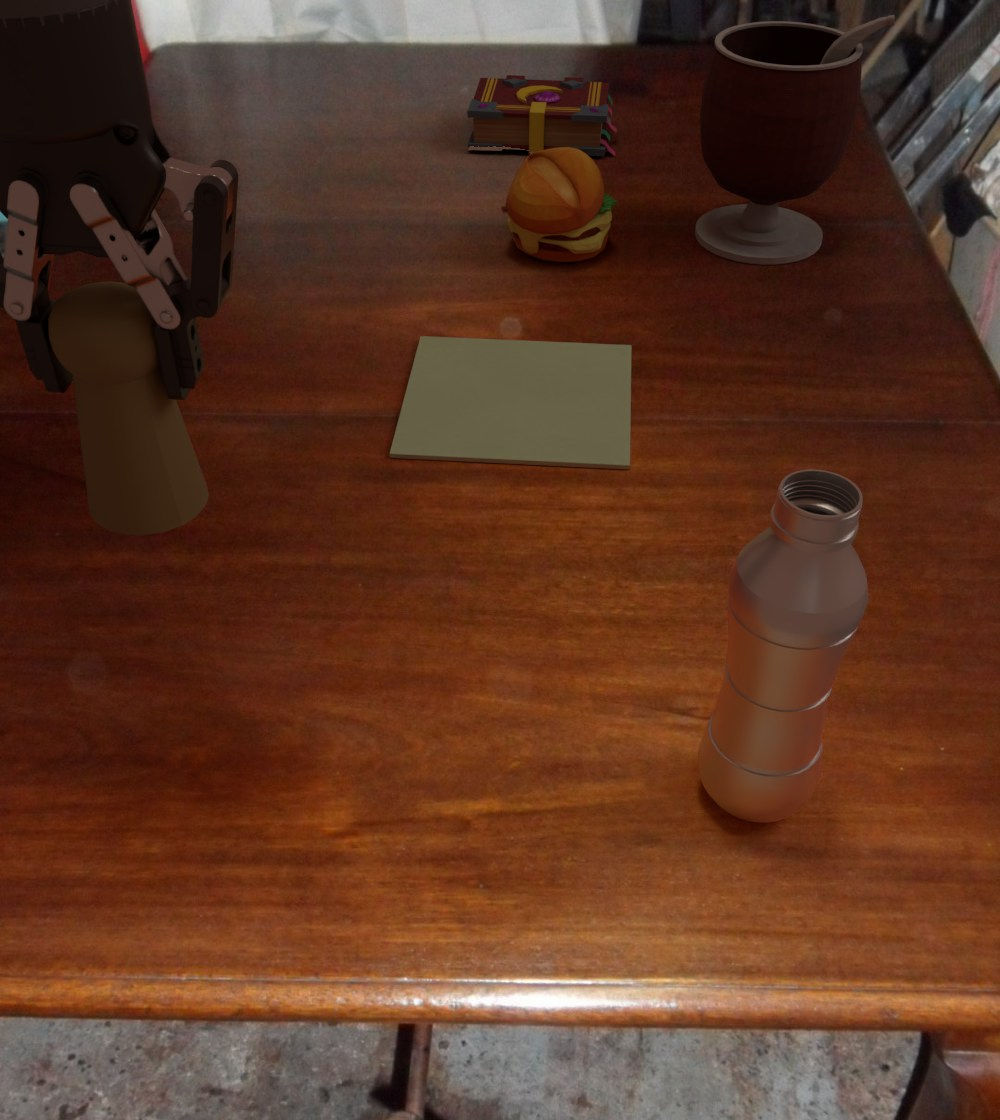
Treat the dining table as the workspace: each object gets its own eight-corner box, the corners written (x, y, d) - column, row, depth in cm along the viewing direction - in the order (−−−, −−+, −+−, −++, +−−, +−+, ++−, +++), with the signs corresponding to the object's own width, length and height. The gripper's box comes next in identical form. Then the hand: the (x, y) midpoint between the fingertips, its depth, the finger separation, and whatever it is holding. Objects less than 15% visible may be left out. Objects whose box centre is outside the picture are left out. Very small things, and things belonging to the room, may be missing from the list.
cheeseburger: (630, 230, 117) (631, 135, 108) (590, 300, 112) (587, 207, 103) (536, 210, 119) (529, 116, 111) (492, 278, 115) (482, 185, 106)
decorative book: (479, 116, 138) (479, 70, 135) (618, 122, 137) (621, 75, 134) (468, 154, 131) (467, 105, 127) (614, 160, 129) (618, 111, 126)
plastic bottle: (752, 858, 63) (827, 558, 49) (667, 780, 67) (713, 481, 52) (837, 803, 66) (931, 504, 51) (750, 731, 69) (816, 434, 55)
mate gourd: (673, 257, 113) (699, 22, 99) (700, 199, 122) (727, -23, 108) (839, 279, 110) (890, 39, 95) (853, 218, 119) (902, -8, 105)
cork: (76, 483, 62) (17, 280, 54) (190, 455, 64) (149, 255, 56) (104, 548, 58) (44, 339, 50) (224, 516, 60) (185, 310, 52)
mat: (389, 458, 89) (389, 453, 89) (420, 340, 102) (420, 335, 101) (629, 469, 88) (630, 465, 88) (631, 349, 101) (631, 344, 100)
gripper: (237, -41, 46) (288, 357, 58) (-118, -55, 47) (6, 340, 59) (183, 17, 41) (251, 441, 53) (-215, 0, 42) (-58, 421, 54)
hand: (121, 386), depth 56 cm, fingers closed on cork, 5 cm apart
